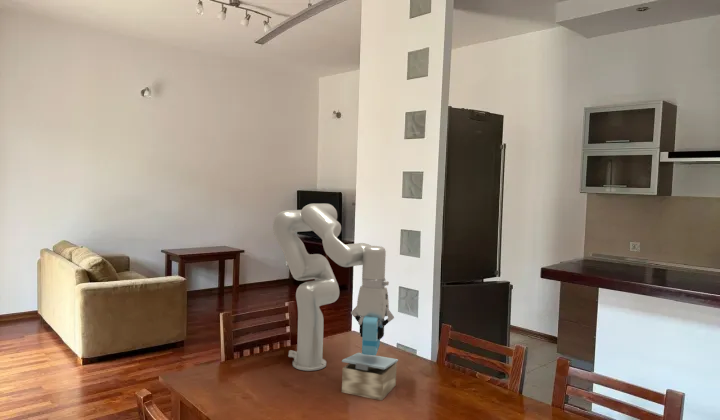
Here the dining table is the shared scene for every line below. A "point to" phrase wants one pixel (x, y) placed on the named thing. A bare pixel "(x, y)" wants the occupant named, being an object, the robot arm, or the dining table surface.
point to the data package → (370, 336)
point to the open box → (368, 381)
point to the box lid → (369, 361)
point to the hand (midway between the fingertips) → (371, 336)
